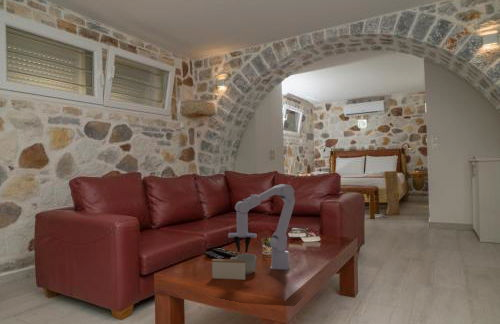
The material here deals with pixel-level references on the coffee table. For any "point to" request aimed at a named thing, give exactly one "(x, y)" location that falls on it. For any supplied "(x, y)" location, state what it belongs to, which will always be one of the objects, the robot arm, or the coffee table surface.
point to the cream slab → (228, 269)
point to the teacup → (247, 262)
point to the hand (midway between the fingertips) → (242, 251)
